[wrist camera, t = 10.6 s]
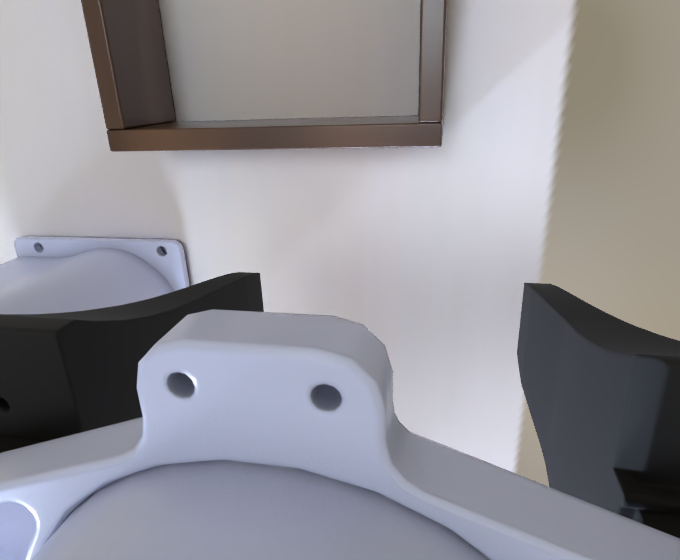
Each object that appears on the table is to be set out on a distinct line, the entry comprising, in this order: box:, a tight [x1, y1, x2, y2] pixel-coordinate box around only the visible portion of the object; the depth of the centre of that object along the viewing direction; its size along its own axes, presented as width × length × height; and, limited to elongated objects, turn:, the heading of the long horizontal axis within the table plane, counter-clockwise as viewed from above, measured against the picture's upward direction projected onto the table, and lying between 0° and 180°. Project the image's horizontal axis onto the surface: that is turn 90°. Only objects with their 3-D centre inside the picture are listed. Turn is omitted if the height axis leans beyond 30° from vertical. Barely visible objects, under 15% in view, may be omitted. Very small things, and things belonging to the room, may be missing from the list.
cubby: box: [81, 0, 447, 151], centre depth 18 cm, size 13×10×4 cm
